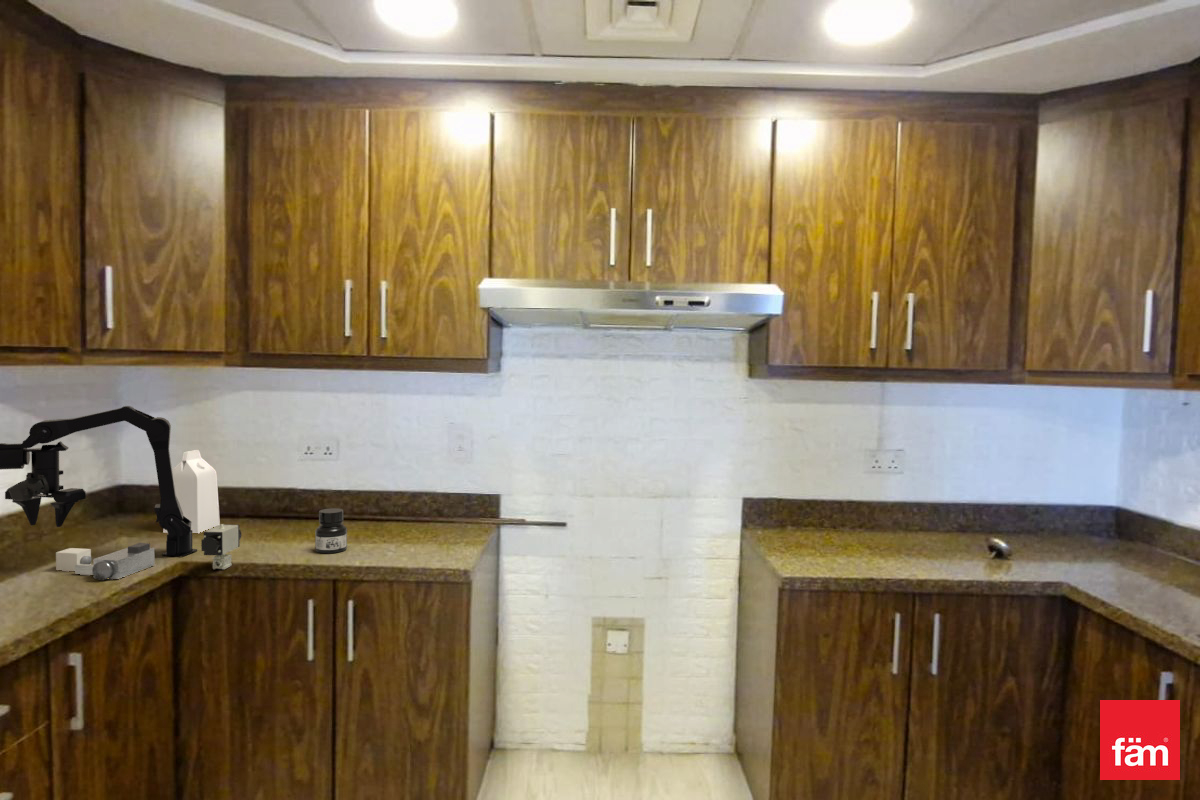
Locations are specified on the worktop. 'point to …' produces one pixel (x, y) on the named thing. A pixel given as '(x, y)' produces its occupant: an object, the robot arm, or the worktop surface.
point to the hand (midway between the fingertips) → (46, 525)
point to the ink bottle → (331, 532)
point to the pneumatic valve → (221, 544)
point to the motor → (119, 562)
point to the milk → (197, 491)
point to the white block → (72, 558)
